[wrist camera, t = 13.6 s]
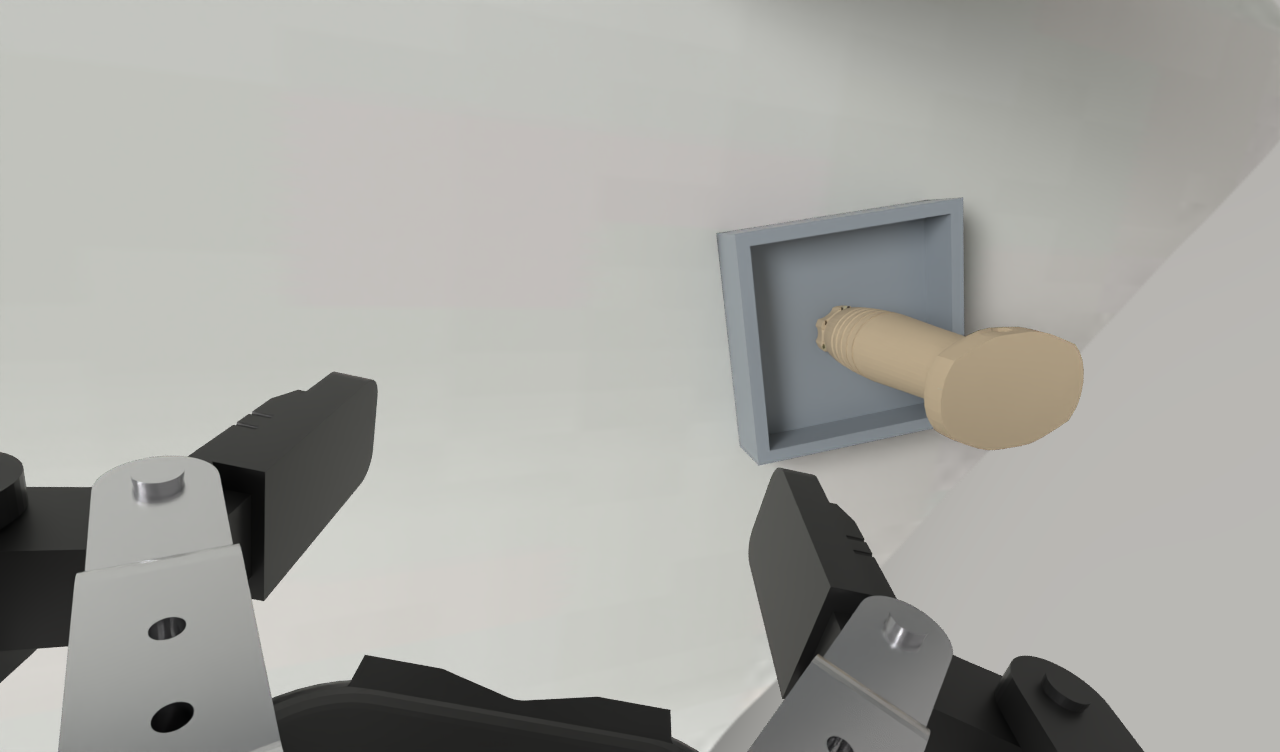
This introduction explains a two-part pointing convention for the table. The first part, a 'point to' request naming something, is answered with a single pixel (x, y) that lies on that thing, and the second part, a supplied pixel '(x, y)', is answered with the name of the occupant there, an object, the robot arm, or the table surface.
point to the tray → (807, 291)
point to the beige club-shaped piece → (963, 373)
